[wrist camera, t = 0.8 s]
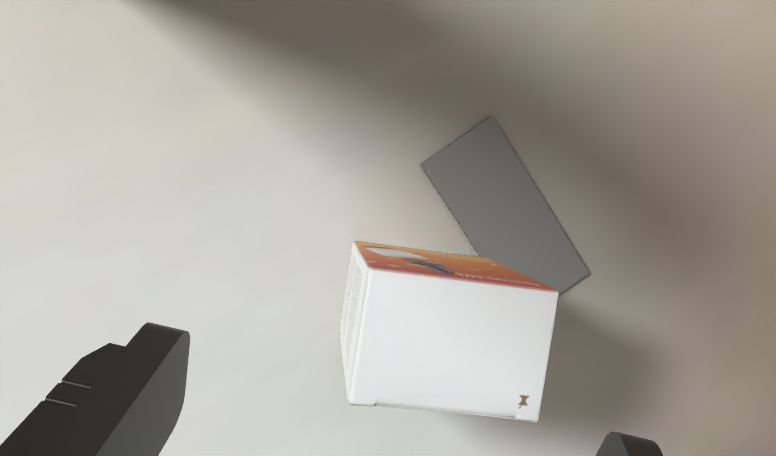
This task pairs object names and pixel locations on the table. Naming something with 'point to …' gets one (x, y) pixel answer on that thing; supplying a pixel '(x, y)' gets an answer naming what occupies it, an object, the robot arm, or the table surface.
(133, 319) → the table surface
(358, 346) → the small box
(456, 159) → the charcoal mat
